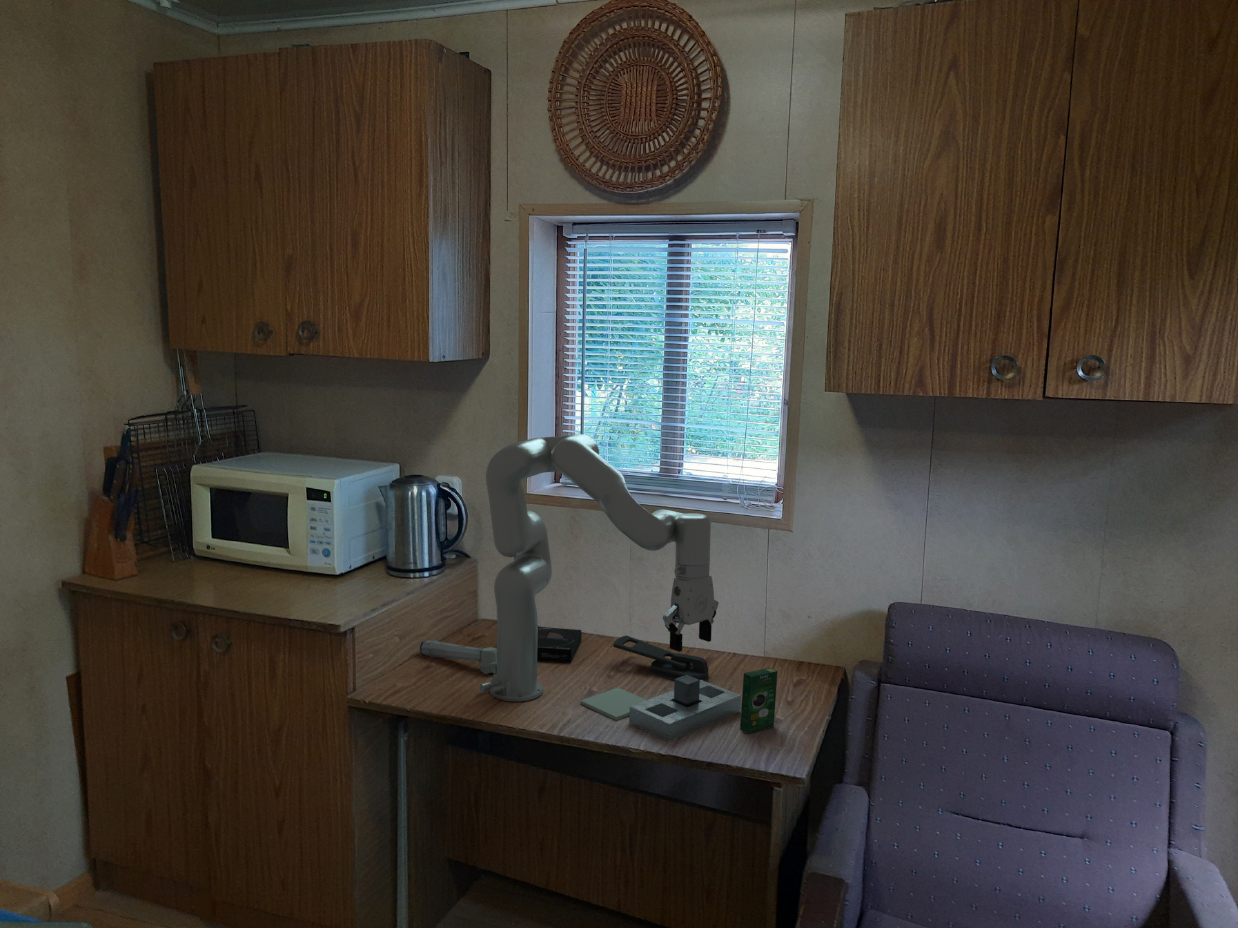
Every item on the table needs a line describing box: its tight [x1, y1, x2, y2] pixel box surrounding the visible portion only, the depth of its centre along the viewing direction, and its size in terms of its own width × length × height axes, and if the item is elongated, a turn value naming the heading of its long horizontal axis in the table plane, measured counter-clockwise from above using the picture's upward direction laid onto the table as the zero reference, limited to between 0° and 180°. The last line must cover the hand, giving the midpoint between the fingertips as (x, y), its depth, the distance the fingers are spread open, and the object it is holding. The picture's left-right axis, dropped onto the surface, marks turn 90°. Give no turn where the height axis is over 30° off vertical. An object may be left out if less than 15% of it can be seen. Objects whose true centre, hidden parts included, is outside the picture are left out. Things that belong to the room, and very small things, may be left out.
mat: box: [580, 687, 647, 721], centre depth 211 cm, size 12×12×1 cm
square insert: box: [673, 675, 700, 707], centre depth 205 cm, size 4×4×9 cm
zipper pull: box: [612, 635, 710, 682], centre depth 233 cm, size 9×7×25 cm
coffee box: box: [739, 667, 778, 734], centre depth 200 cm, size 8×3×13 cm, turn 123°
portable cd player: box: [537, 626, 583, 664], centre depth 246 cm, size 16×17×4 cm
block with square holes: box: [628, 680, 742, 742], centre depth 205 cm, size 24×12×4 cm, turn 134°
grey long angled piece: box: [419, 639, 497, 675], centre depth 234 cm, size 5×7×25 cm
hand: (690, 644), depth 203 cm, fingers open, 9 cm apart
